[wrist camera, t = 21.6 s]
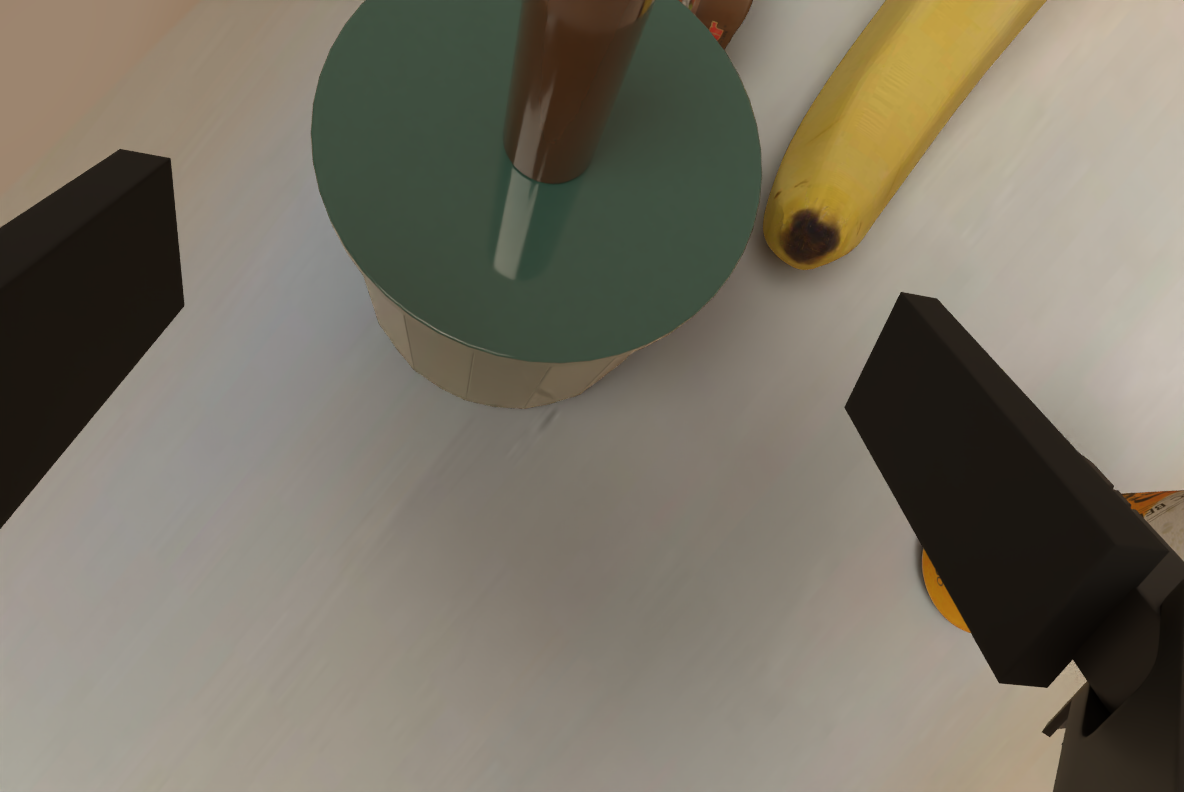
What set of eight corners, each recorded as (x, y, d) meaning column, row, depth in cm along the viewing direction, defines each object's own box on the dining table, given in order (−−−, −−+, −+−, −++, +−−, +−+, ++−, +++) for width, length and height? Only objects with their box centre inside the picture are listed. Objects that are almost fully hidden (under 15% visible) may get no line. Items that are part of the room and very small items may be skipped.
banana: (789, 334, 36) (1177, 113, 17) (692, 261, 36) (977, -47, 17) (993, 21, 42) (1457, -410, 23) (910, -44, 42) (1311, -537, 22)
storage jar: (310, 235, 33) (241, 86, 22) (538, 95, 36) (580, -98, 25) (485, 466, 33) (505, 433, 22) (700, 304, 36) (814, 203, 25)
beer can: (999, 487, 37) (1354, 460, 23) (1042, 609, 37) (1436, 662, 22) (893, 522, 36) (1199, 517, 21) (936, 650, 35) (1282, 735, 21)
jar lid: (260, 307, 22) (103, 120, 12) (383, -89, 24) (341, -510, 14) (710, 417, 24) (902, 335, 14) (776, 39, 26) (975, -256, 16)
